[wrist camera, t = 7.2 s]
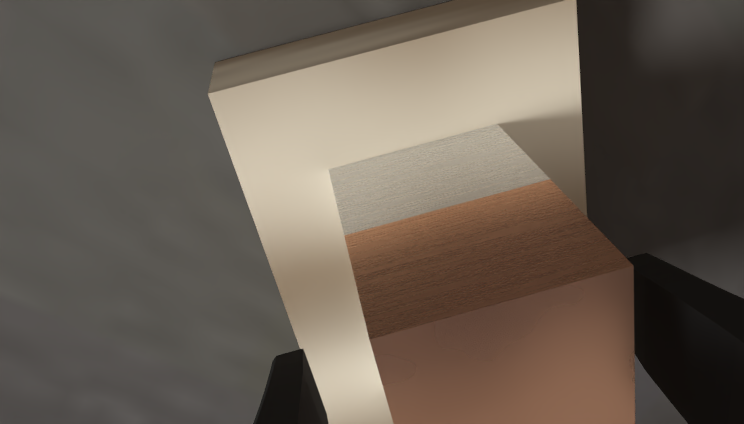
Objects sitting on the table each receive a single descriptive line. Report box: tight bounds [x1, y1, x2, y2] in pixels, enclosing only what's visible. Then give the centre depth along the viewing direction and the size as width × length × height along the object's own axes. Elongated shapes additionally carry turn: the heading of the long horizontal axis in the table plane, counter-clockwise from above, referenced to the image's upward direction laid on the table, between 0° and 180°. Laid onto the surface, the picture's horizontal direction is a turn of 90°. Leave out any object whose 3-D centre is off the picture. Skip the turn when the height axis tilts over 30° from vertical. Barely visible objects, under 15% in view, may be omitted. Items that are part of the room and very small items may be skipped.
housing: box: [328, 124, 635, 424], centre depth 13 cm, size 7×4×6 cm, turn 12°
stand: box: [208, 0, 587, 424], centre depth 17 cm, size 12×8×2 cm, turn 12°
